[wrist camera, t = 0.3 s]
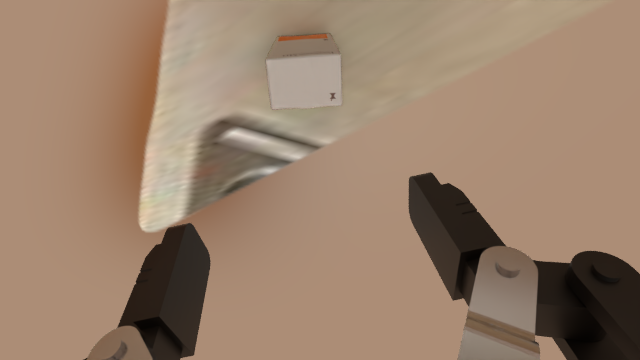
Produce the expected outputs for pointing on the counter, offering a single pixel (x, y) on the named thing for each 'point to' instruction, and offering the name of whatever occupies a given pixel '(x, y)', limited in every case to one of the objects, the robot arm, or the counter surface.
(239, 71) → the counter surface
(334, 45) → the skincare box
